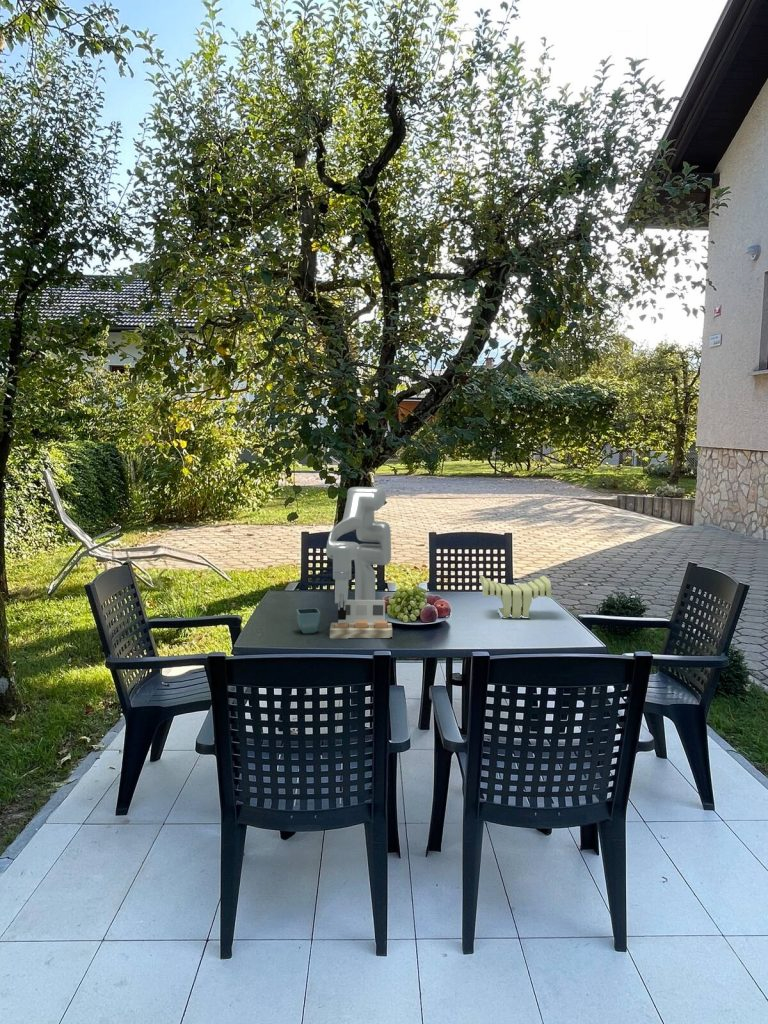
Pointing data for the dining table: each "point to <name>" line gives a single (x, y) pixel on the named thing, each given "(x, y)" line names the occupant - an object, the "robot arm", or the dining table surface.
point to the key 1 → (341, 625)
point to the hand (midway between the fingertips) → (341, 619)
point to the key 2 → (380, 623)
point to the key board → (361, 631)
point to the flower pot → (308, 620)
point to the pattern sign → (364, 610)
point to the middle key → (360, 623)
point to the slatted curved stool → (516, 594)
